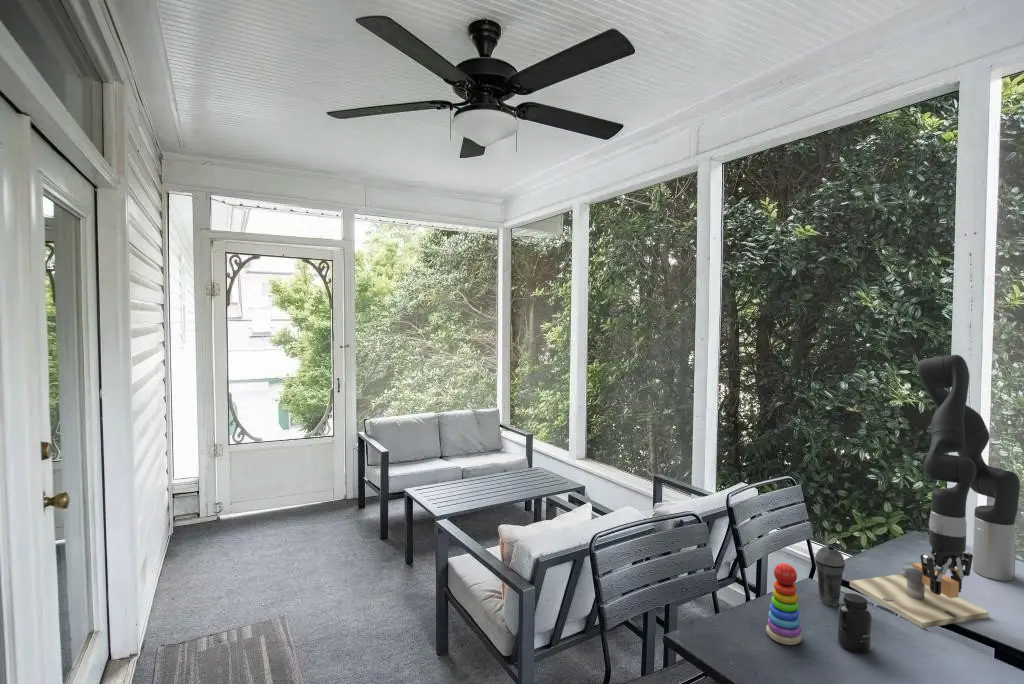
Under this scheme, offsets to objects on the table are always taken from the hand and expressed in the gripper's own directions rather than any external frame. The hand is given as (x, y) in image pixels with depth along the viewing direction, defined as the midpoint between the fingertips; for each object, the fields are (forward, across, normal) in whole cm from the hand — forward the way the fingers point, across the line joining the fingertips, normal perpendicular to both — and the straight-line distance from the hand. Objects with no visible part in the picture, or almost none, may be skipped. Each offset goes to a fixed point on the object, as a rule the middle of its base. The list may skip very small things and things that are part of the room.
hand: (945, 592), depth 139 cm
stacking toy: (+7, +48, 0) cm, 48 cm away
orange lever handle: (0, 0, -5) cm, 5 cm away
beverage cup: (+7, +24, -12) cm, 28 cm away
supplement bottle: (+7, +33, +6) cm, 35 cm away
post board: (+7, 0, -8) cm, 11 cm away
